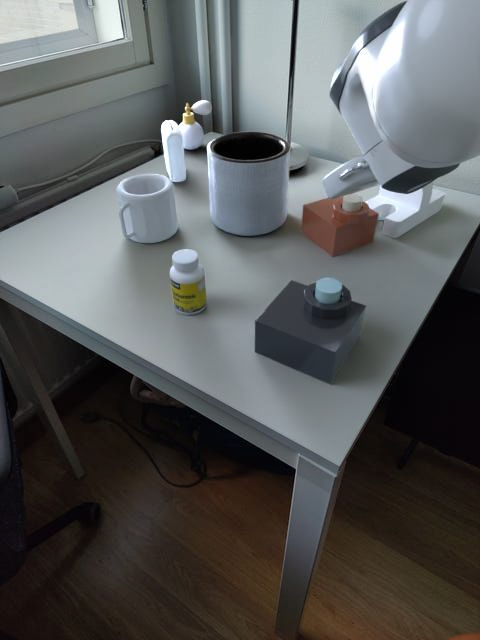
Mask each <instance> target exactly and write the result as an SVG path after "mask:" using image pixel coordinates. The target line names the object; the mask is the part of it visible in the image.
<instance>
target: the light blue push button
mask: <svg viewBox="0 0 480 640" xmlns="http://www.w3.org/2000/svg"><path fill="white" fill-rule="evenodd" d="M316 282H317V283H316V288H315V298H316V300H317V301H319V302H321V303H324V304H335V303H337V302H338V301H339V300H340V298H341V292H342V285H343V284H342V283H341V281H340V280H338V279H336V278H333V277H322V278H320V279H318V280H317V281H316Z"/></svg>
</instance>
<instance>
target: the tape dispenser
mask: <svg viewBox="0 0 480 640" xmlns="http://www.w3.org/2000/svg"><path fill="white" fill-rule="evenodd" d="M378 190H379V191H378V194H377V195H375V196H373V197H371V198H369V199H367V200H366V201H364V202H365V203H367V204H368V206H369V208H371V209H372V210H374V211H376V212H377V213H379V215H378V220H377V222H378V221H383V224H382V230H381V234H382V235H384V236H385V237H388V238H391V239H397V238H399V237H400V236H403V235H404V234H405V233H407V232H409V231H410V230H411V229H413V228H414V227H416V226H418V225H419V224H421V223H423V222H425V221H426V220H427V219H429V218H431V217H432V216H434V215H436V214H437V213H439V212H440V211H441V209H442V205H443V203H444V199H445V196H446V192H444V191H443V190H441V189H437V188H434V187H433V182H431V183H430V184H428V185H426V186H425V187H423V188H421V189H419V190H417V191H415V192H413V193H410V194H401V193H395V192H391V191H388V190H385V189H383V188H382V186H381V185H379V189H378Z"/></svg>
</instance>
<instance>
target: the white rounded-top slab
mask: <svg viewBox="0 0 480 640" xmlns="http://www.w3.org/2000/svg"><path fill="white" fill-rule="evenodd" d="M160 132H161V139H162V146H163V156H164V162H165V168H166V172H167V174H168V176H169V177H168V178H169V179H170V180H171V181H172V182H174V183H182V182H185V181H186V180H187V169H186V168H187V167H186V159H185V148H184V147H183V137H182V133H181V130H180V128H179V125H178V123H177V122H176V121H174V120H172V119H170V120H165V121H163V122H162V124H161V128H160Z"/></svg>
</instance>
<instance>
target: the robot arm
mask: <svg viewBox="0 0 480 640" xmlns="http://www.w3.org/2000/svg"><path fill="white" fill-rule="evenodd" d="M329 98H330V99H331V101H332V103H333V105H334V106H335V107H336V109H337V111H338V112H339V114H340V115H341V116H342V118H343V120H344V122H345V123H346V125H347V127H348V129H349V131H350V132H351V135H352V137H353V138H354V141H355V143H356V144H357V146H358V149H360V152H361V153H362V156H358V157H355V158H352V159H350V160H348V161H346V162H344V163H342V164H341V165H340V166H338V167H337V168H335V169H333V170H332V171H331V172H329V173H328V174H326V175H325V176H324V177H323V178H322V180H321V181H322V187H323V189H324V192H325V194H326V196H327V198H329V199H336V198H339V197H342V196H345V195H349V194H356V193H359V192H362V191H365V190H369V189H371V188H374V187H377V186H380V185H381V186H382V188H383V189H385V190H388V191H391V192H395V193H401V194H410V193H413V192H415V191H417V190H419V189H421V188H423V187H425V186H426V185H428V184H430V183H431V182H432V183H433V182H434V181H436V180H437V179H439V178H441V177H444V176H446V175H448V174H450V173H452V172H453V171H455V170H457V169H458V168H459V166H460V165H461V164H462V163H465V162H467V161H470V160H472V159H475V158H477V157H480V0H405V1H402V2H400V3H397V4H396V5H394V6H393V7H391V8H389V9H388V10H386V11H384V12H383V13H382V14H380V15H379V16H378V17H376V18H375V19H374V20H372V21H371V22H370V23H369V24H368V25H366V27H365V28H364V29H363V30H362V31H361V33H359V35H358V36H357V38H356V39H355V41H354V43H353V45H352V46H351V48H350V50H349V52H348V54H347V57H346V58H345V59H344V60H343V61H342V62H341V63H340V65H338V67H337V68H336V69H335V71H334V73H333V75H332V79H331V83H330V88H329Z"/></svg>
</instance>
